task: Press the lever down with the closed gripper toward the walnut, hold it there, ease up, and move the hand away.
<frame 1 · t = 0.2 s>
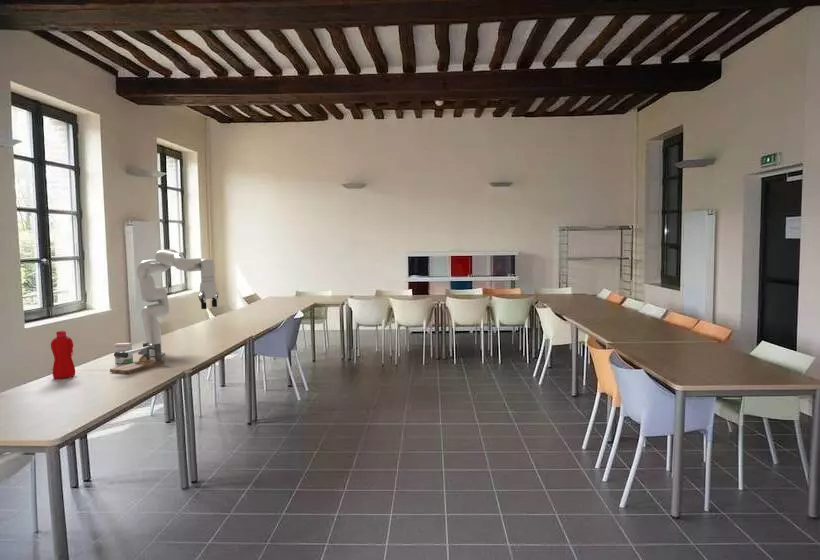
hand: (209, 307, 337), 31 cm above the table, tool pointing down, fingers open, 9 cm apart
lever: (137, 351, 319), point 9 cm above the table, hinge at 0.0°
brown board with cylinder: (138, 367, 320), on the table
ink box: (124, 363, 334), on the table
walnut: (143, 359, 323), point 4 cm above the table, touching brown board with cylinder
red bottle: (65, 377, 302), on the table
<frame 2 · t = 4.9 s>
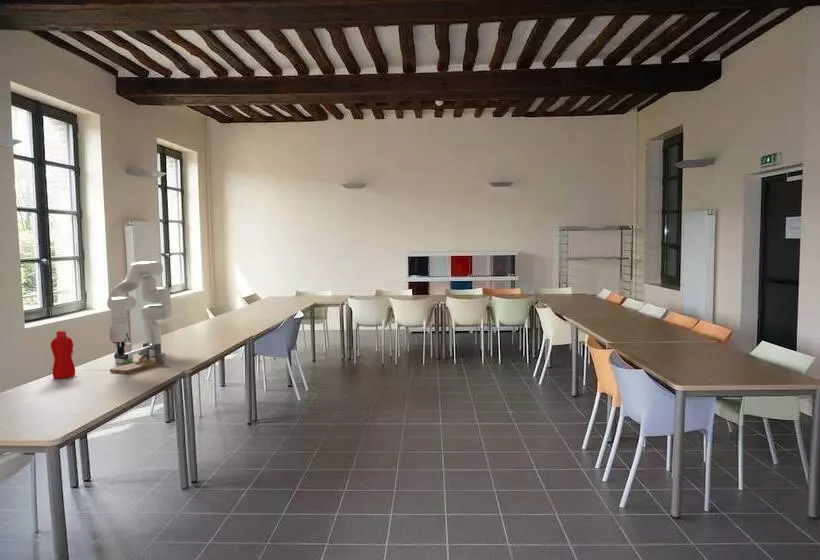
hand: (121, 353, 309), 11 cm above the table, tool pointing down, fingers closed
lever: (137, 352, 319), point 9 cm above the table, hinge at 2.5°, touching gripper
everything else where it was.
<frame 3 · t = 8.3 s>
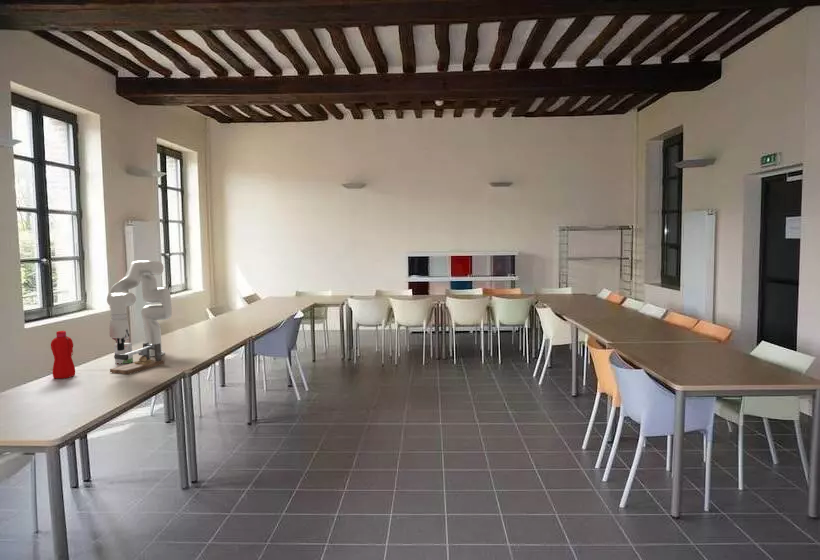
hand: (121, 350, 309), 13 cm above the table, tool pointing down, fingers closed
lever: (137, 352, 319), point 9 cm above the table, hinge at 3.1°
everything else where it was.
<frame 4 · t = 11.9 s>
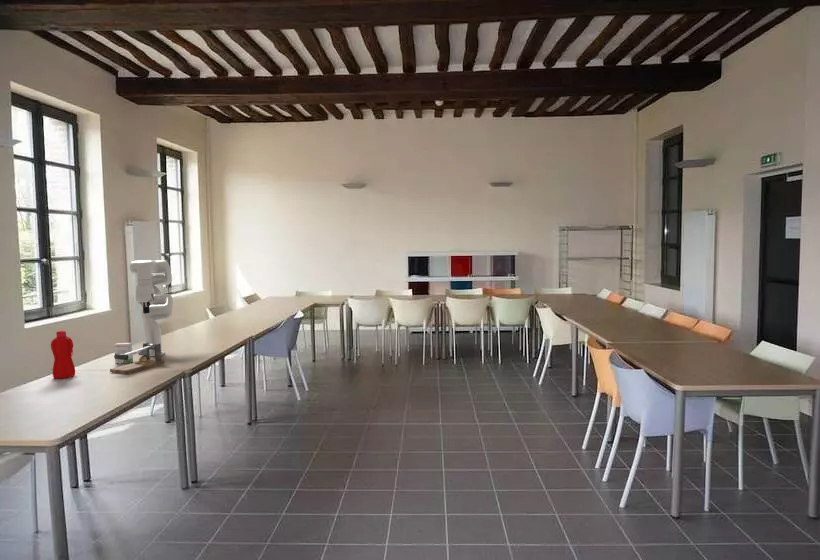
hand: (146, 313, 334), 29 cm above the table, tool pointing down, fingers closed
nothing on the table moved.
at the end: lever at +3° (first picture: +0°); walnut 0.0 cm from the target spot on the brown board with cylinder, point 4.0 cm above the brown board with cylinder's base; the gripper is holding nothing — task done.
